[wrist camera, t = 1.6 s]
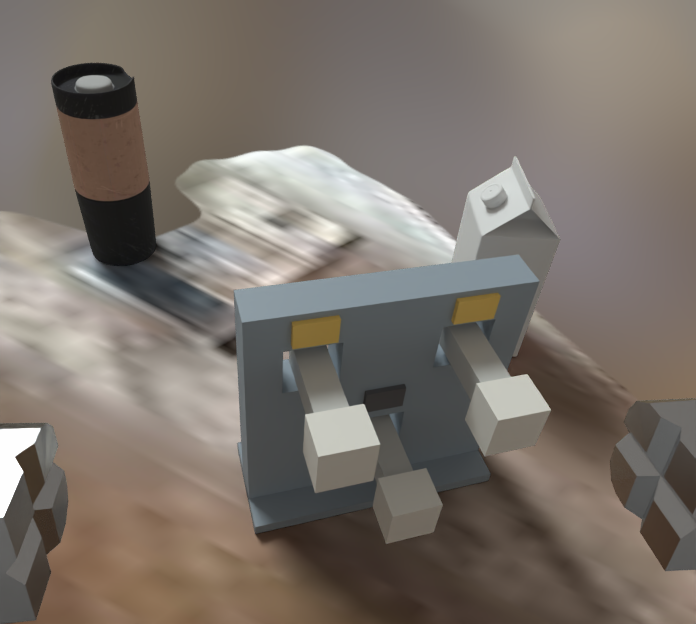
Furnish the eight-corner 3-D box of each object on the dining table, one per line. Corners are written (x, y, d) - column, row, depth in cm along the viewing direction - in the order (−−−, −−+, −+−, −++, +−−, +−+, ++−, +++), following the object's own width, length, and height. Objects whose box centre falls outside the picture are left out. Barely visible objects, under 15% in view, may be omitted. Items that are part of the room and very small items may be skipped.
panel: (255, 533, 49) (249, 352, 36) (237, 449, 55) (227, 265, 41) (488, 480, 54) (558, 305, 41) (450, 409, 60) (502, 234, 47)
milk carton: (502, 312, 71) (552, 158, 58) (516, 358, 66) (575, 200, 53) (439, 309, 70) (476, 153, 58) (448, 356, 65) (492, 195, 53)
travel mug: (78, 263, 71) (34, 89, 58) (104, 224, 77) (69, 58, 64) (146, 271, 71) (118, 98, 58) (166, 232, 77) (145, 66, 64)
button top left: (315, 493, 37) (318, 456, 35) (278, 369, 44) (279, 332, 42) (373, 480, 38) (380, 444, 36) (328, 361, 45) (332, 324, 43)
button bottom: (386, 544, 44) (392, 516, 42) (345, 430, 51) (348, 401, 49) (433, 532, 45) (442, 505, 43) (387, 422, 52) (392, 393, 50)
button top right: (484, 456, 40) (498, 420, 38) (425, 345, 47) (433, 309, 45) (534, 445, 41) (551, 410, 39) (469, 338, 48) (480, 302, 46)
